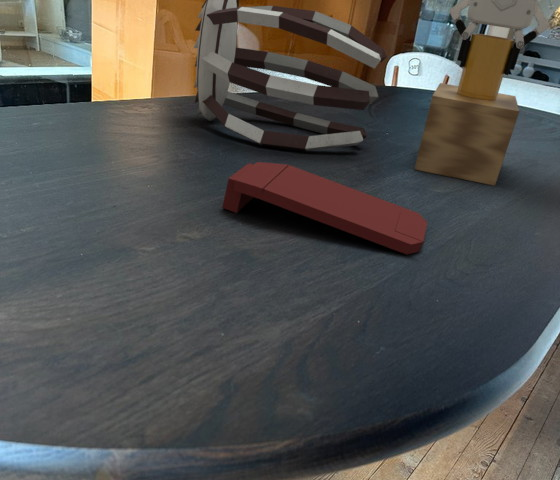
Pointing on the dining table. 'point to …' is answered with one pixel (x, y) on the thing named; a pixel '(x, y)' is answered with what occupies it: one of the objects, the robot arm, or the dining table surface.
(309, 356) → the dining table surface
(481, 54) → the cup
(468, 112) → the wooden block
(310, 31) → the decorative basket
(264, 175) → the red hooked ramp
